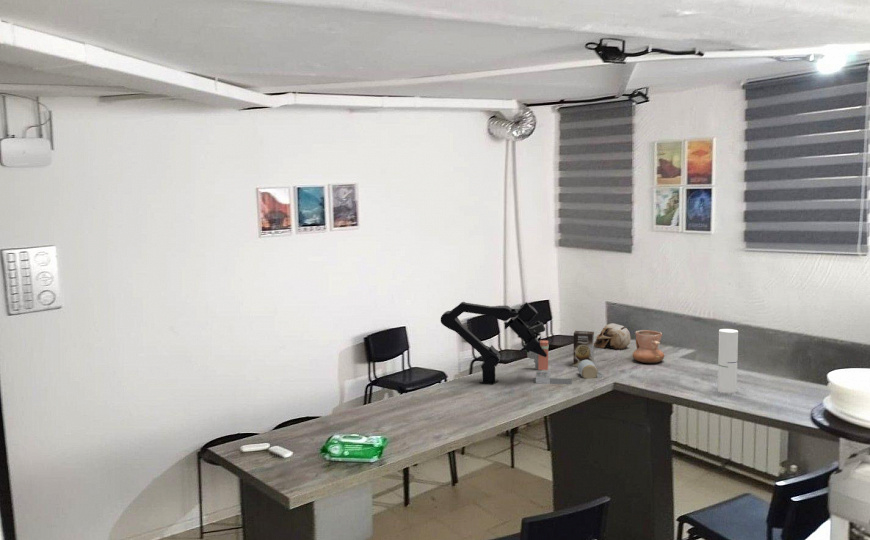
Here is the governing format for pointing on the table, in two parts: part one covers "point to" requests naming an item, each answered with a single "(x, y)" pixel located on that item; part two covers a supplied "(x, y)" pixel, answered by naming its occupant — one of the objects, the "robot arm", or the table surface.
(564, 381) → the stand base
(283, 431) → the table surface
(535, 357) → the mechanical component
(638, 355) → the ceramic jug
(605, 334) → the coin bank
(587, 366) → the ceramic mug
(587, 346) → the coffee box
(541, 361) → the salmon pink rectangular block
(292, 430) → the table surface
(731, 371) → the cylindrical container
